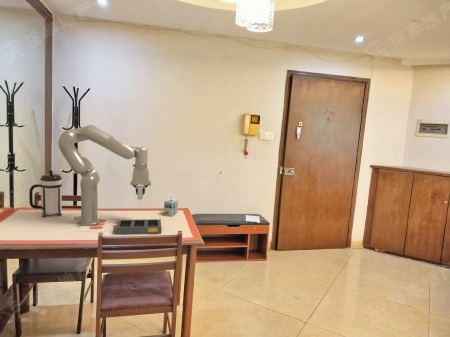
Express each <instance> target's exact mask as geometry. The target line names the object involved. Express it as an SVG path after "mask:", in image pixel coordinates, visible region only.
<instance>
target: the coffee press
mask: <svg viewBox="0 0 450 337" xmlns="http://www.w3.org/2000/svg"><path fill="white" fill-rule="evenodd" d="M39 180H40V184H39V183H38V184H37V183H36V184H34V185H32V186H30V188H29V194H28V195H29V197H28V198H29V206H30V207H31V208H32V209H35V210H36V209H37V210H41V213H43V214H42V215H41V217H42V218H46V217H47V216H49V215H50V216H51V215H57V216H58V217H61V216H62V210H63V208H62V205H63V202H62V198H63V197H62V194H63V193H62V187H63V184H62V183H65V180H64V179H63V177H62V176H61V175H60V174H59V173H54V171H53V170H49V171H48V173H46V174H42V176H41V177H40V178H39ZM35 188H40V201H41V202H40V204H41V205H34V202H33V201H34V200H33V197H34V196H33V191H34V189H35Z"/></svg>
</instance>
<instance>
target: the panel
mask: <svg viewBox="0 0 450 337" xmlns="http://www.w3.org/2000/svg"><path fill="white" fill-rule="evenodd" d="M143 197H144V195H143V185H138V195H137V200H143Z"/></svg>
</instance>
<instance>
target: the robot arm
mask: <svg viewBox="0 0 450 337" xmlns="http://www.w3.org/2000/svg"><path fill="white" fill-rule="evenodd" d="M85 141H91V142H93V143H95V144H97V145H99V146H100V147H103V148H105V149H106V150H107V151H110V152H111V153H113V154H115V155H117V156H119V157H121V158H123V159H125V160H131V159H133V158H135V159H134V164H132V168H133V167H134V168H133V171H132V178H131V181H130V183H129V185H130V186H133V188H134V189H135V194H136V196H138V186H143V196H144V195H145V194H146V188H147V187H149V186H151V185H152V184H151V181H150V173H149V168H148V158H149V157H148V154H149V153H148V150H149V149H148V148H147V147H146V146H145V147H144V146H138V147H137V146H132V145H126V144H124V143H122V142H120V141H118V140H117V139H116V138H115V137H114V136H113V135H111V134H109V133H107V132H105V131H103V130H101V129H99V128H98V127H97V126H96V125H93V124H88V125H85V126H82V127H79V128H73V129H67V130H65V131H63V132H62V133H61V134H60V136H59V138H58V141H57V142H58V143H57V145H58V149H59V151H60V153H61V154H62V156H63V157H64V160H66V162H67V163H68V165H69V166H70V167H71V169H72V171H73V172H74V173H76V174H77V175H80V176H81V179H80V201H81V202H80V206H81V208H80V209H81V210H80V213H81V215H79V216H78V215H75V216H73V220H74V221H78V224H79V225H81V226H87V227H88V226H95V225H98V224H100V223H101V220H100V219H99V217H98V216H99V215H98V214H99V213H98V210H99V209H98V208H99V206H98V205H99V204H98V198H99V197H98V184H99V182H100V178H101V176H100V175H99V173H98V171H97V170H96V168H95V166H93V165H94V164H92V162H91V161H90V160H89V159H88V158H87V157H85V156H82V155H81V153H80V152H79V150H78V148H76V146H75V144H77V143H80V142H81V143H82V142H85Z"/></svg>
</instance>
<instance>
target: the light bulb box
mask: <svg viewBox="0 0 450 337" xmlns="http://www.w3.org/2000/svg"><path fill="white" fill-rule="evenodd" d="M163 202H164V206H163V216H165V217H174V216H176V215H177V214H178V208H179V207H178V204H179V203H178V202H179V199H178V198H172V197H169V198H167V199H165V200H164V201H163Z"/></svg>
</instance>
